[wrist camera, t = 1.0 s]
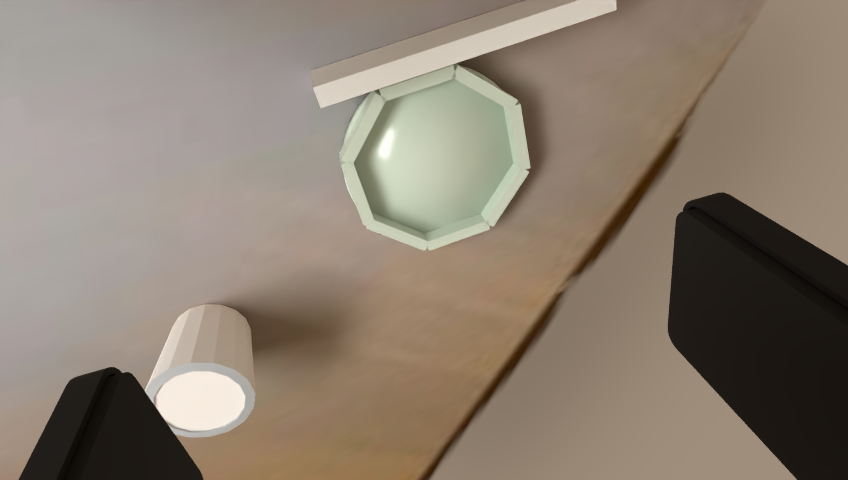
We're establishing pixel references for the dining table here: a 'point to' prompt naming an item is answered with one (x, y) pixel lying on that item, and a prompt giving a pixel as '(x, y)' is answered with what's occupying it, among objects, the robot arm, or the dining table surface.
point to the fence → (449, 46)
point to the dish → (435, 156)
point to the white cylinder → (205, 372)
